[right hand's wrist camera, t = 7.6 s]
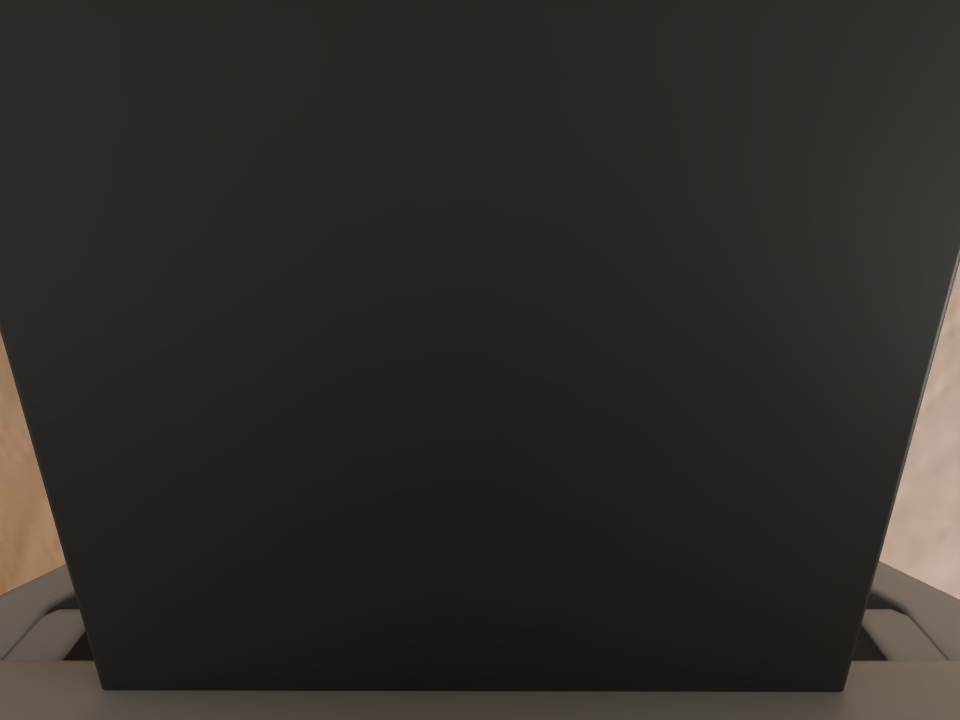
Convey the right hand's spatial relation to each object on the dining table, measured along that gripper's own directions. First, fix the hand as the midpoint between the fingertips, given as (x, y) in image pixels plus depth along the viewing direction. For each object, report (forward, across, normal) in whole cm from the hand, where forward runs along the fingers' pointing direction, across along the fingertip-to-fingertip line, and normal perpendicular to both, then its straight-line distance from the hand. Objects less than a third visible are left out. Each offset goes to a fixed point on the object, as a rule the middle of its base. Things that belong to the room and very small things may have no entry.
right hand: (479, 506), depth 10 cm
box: (+7, 0, +8) cm, 10 cm away
